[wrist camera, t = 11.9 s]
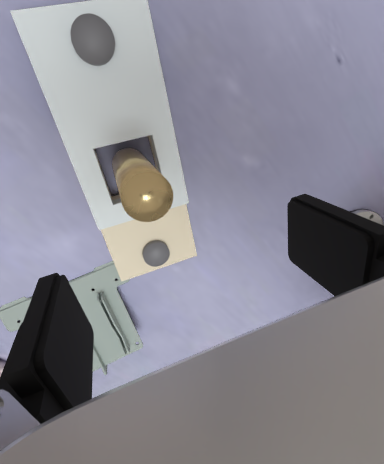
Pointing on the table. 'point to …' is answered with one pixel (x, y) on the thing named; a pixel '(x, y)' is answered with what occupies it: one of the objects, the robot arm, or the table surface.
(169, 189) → the brass pin
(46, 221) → the table surface
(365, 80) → the table surface
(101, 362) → the metal bracket
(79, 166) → the white peg board
